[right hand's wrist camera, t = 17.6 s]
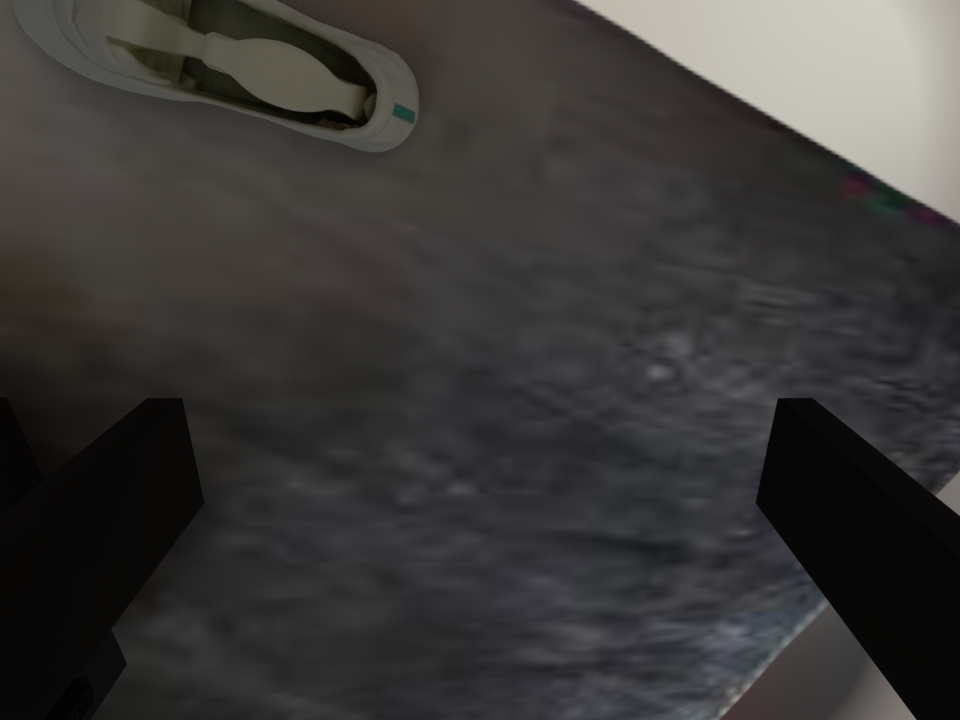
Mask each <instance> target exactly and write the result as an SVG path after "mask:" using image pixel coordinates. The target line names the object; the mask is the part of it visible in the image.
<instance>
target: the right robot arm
mask: <svg viewBox="0 0 960 720" xmlns="http://www.w3.org/2000/svg"><path fill="white" fill-rule="evenodd" d="M203 504H204V499H203V494H202V490H201V485H200V480H199V476H198V471H197V466H196V462H195V457H194V452H193V448H192V443H191V438H190V433H189V429H188V424H187V419H186V415H185V410H184V405H183V401H182V398H147V399H146V400H144V401H143V402H142V403H141V404H139V405H138V406H137V407H136V408H134V409H133V410H132V411H131V412H129V413H128V414H127V415H126V416H125V417H123V418H122V419H121V420H120V421H118V422H117V423H116V424H115V425H113V426H112V427H111V428H110V429H108V430H107V431H106V432H105V433H103V434H102V435H101V436H100V437H98V438H97V439H96V440H95V441H93V442H92V443H91V444H90V445H88V446H87V447H86V448H85V449H83V450H82V451H81V452H80V453H78V454H77V455H76V456H75V457H73V458H72V459H71V460H70V461H68V462H67V463H66V464H65V465H63V466H62V467H61V468H60V469H58V470H57V471H56V472H55V473H53V474H52V475H51V476H50V477H48V478H47V479H46V480H45V481H43V482H42V483H41V484H40V485H38V486H37V487H36V488H35V489H33V490H32V491H31V492H30V493H28V494H27V495H26V496H25V497H23V498H22V499H21V500H20V501H18V502H17V503H16V504H15V505H13V506H12V507H11V508H10V509H8V510H7V511H6V512H5V513H3V514H2V515H1V516H0V720H44V718H45V717H46V716H47V714H48V713H49V712H50V710H51V709H52V708H53V706H54V705H55V703H56V702H57V701H58V699H59V698H60V697H61V695H62V694H63V693H64V691H65V690H66V689H67V687H68V686H69V685H70V683H71V682H72V681H73V679H74V678H75V677H76V675H77V674H78V672H79V671H80V670H81V668H82V667H83V666H84V664H85V663H86V662H87V660H88V659H89V658H90V656H91V655H92V654H93V652H94V651H95V650H96V648H97V647H98V646H99V644H100V643H101V642H102V640H103V639H104V637H105V636H106V635H107V633H108V632H109V631H110V629H111V628H112V627H113V625H114V624H115V623H116V621H117V620H118V619H119V617H120V616H121V615H122V613H123V612H124V611H125V609H126V608H127V606H128V605H129V604H130V602H131V601H132V600H133V598H134V597H135V596H136V594H137V593H138V592H139V590H140V589H141V588H142V586H143V585H144V584H145V582H146V581H147V580H148V578H149V577H150V576H151V574H152V573H153V571H154V570H155V569H156V567H157V566H158V565H159V563H160V562H161V561H162V559H163V558H164V557H165V555H166V554H167V553H168V551H169V550H170V549H171V547H172V546H173V545H174V543H175V542H176V540H177V539H178V538H179V536H180V535H181V534H182V532H183V531H184V530H185V528H186V527H187V526H188V524H189V523H190V522H191V520H192V519H193V518H194V516H195V515H196V514H197V512H198V511H199V510H200V508H201V507H202V505H203ZM756 504H757V505H758V507H759V508H760V510H761V511H762V512H763V514H764V515H765V516H766V518H767V519H768V520H769V522H770V523H771V524H772V526H773V527H774V528H775V530H776V531H777V532H778V534H779V535H780V536H781V538H782V539H783V541H784V542H785V543H786V545H787V546H788V547H789V549H790V550H791V551H792V553H793V554H794V555H795V557H796V558H797V559H798V561H799V562H800V563H801V565H802V566H803V567H804V569H805V570H806V571H807V573H808V574H809V576H810V577H811V578H812V580H813V581H814V582H815V584H816V585H817V586H818V588H819V589H820V590H821V592H822V593H823V594H824V596H825V597H826V598H827V600H828V601H829V602H830V604H831V605H832V606H833V608H834V609H835V611H836V612H837V613H838V615H839V616H840V617H841V619H842V620H843V621H844V623H845V624H846V625H847V627H848V628H849V629H850V631H851V632H852V633H853V635H854V636H855V637H856V639H857V640H858V642H859V643H860V644H861V646H862V647H863V648H864V650H865V651H866V652H867V654H868V655H869V656H870V658H871V659H872V660H873V662H874V663H875V664H876V666H877V667H878V668H879V670H880V671H881V672H882V674H883V675H884V676H885V678H886V679H887V681H888V682H889V683H890V685H891V686H892V687H893V689H894V690H895V691H896V693H897V694H898V695H899V697H900V698H901V699H902V701H903V702H904V703H905V705H906V706H907V708H908V709H909V710H910V712H911V713H912V714H913V716H914V717H915V718H916V720H960V516H959V515H958V514H957V513H955V512H954V511H953V510H952V509H950V508H949V507H948V506H947V505H945V504H944V503H943V502H942V501H940V500H939V499H938V498H937V497H935V496H934V495H933V494H932V493H930V492H929V491H928V490H927V489H925V488H924V487H923V486H922V485H920V484H919V483H918V482H917V481H915V480H914V479H913V478H912V477H910V476H909V475H908V474H907V473H905V472H904V471H903V470H902V469H900V468H899V467H898V466H897V465H895V464H894V463H893V462H892V461H890V460H889V459H888V458H887V457H885V456H884V455H883V454H882V453H880V452H879V451H878V450H877V449H875V448H874V447H873V446H872V445H870V444H869V443H868V442H867V441H865V440H864V439H863V438H862V437H860V436H859V435H858V434H857V433H855V432H854V431H853V430H852V429H850V428H849V427H848V426H847V425H845V424H844V423H843V422H842V421H840V420H839V419H838V418H837V417H835V416H834V415H833V414H832V413H830V412H829V411H828V410H827V409H826V408H824V407H823V406H822V405H821V404H819V403H818V402H817V401H816V400H814V399H813V398H778V401H777V405H776V410H775V415H774V419H773V424H772V429H771V433H770V438H769V443H768V448H767V452H766V457H765V462H764V466H763V471H762V476H761V480H760V485H759V490H758V494H757V499H756Z"/></svg>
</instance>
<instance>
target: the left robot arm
mask: <svg viewBox="0 0 960 720" xmlns="http://www.w3.org/2000/svg"><path fill="white" fill-rule="evenodd" d="M93 700H94V694H93V689H92V687H91V685H90V683H89V681H88V678H87V677H76V678H75V679H74V680H73V681H72V682H71V684H70V685H69V686H68V688H67V689H66V690H65V692H64V693H63V694H62V696H61V697H60V698H59V700H58V701H57V702H56V704H55V705H54V706H53V708H52V709H51V711H50V712H49V713H48V715H47V716H46V717H45V719H44V720H81V719H82V718H83V716H84V714H85V713H86V712H87V710H88V709H89V707H90V706H91V704H92V703H93Z"/></svg>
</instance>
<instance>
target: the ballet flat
mask: <svg viewBox="0 0 960 720" xmlns="http://www.w3.org/2000/svg"><path fill="white" fill-rule="evenodd" d="M12 7H13V11H14V14H15V16H16V18H17V20H18V22H19V24H20V26H21V27H22V29H23V30H24V32H25V33H26V34H27V35H28V37H29V38H30V39H32V40H33V41H34V42H35V43H36V44H37V45H38V46H39V47H40V48H41V49H43V50H44V51H45V52H46V53H47V54H48V55H49V56H50V57H52V58H53V59H55V60H56V61H58V62H59V63H61V64H62V65H64V66H66V67H67V68H69V69H71V70H73V71H75V72H76V73H78V74H80V75H82V76H84V77H86V78H89V79H91V80H94V81H96V82H99V83H102V84H105V85H108V86H112V87H115V88H118V89H122V90H126V91H129V92H133V93H137V94H142V95H147V96H152V97H157V98H162V99H168V100H174V101H183V102H204V103H208V104H213V105H217V106H221V107H224V108H227V109H231V110H234V111H237V112H241V113H244V114H247V115H251V116H255V117H259V118H263V119H266V120H269V121H272V122H274V123H277V124H279V125H282V126H285V127H287V128H290V129H293V130H295V131H298V132H301V133H304V134H306V135H310V136H313V137H317V138H321V139H326V140H331V141H335V142H339V143H341V144H344V145H347V146H349V147H351V148H354V149H358V150H361V151H365V152H385V151H388V150H391V149H394V148H396V147H397V146H398V145H400V144H401V143H402V142H403V141H404V140H406V139H407V137H408V136H409V135H410V134H411V132H412V130H413V129H414V127H415V125H416V123H417V120H418V114H419V92H418V87H417V83H416V80H415V77H414V75H413V73H412V71H411V70H410V68H409V67H408V65H407V64H406V63H405V62H404V61H403V59H402V58H401V57H400V55H398V54H397V53H396V52H394V51H391V50H389V49H388V48H386V47H384V46H382V45H380V44H378V43H376V42H373V41H370V40H366V39H363V38H360V37H358V36H356V35H354V34H351V33H348V32H346V31H343V30H340V29H338V28H335V27H332V26H329V25H327V24H324V23H321V22H318V21H316V20H315V19H313V18H311V17H308V16H306V15H304V14H302V13H300V12H299V11H297V10H295V9H293V8H291V7H289V6H287V5H285V4H283V3H281V2H279V1H277V0H12Z"/></svg>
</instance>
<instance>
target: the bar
mask: <svg viewBox="0 0 960 720" xmlns="http://www.w3.org/2000/svg"><path fill="white" fill-rule="evenodd" d="M43 481H44V479H43V477H42V475H41V472H40V470H39V468H38V466H37V464H36V461H35V459H34V457H33V455H32V452H31V450H30V448H29V446H28V444H27V441H26V439H25V437H24V435H23V433H22V430H21V428H20V426H19V424H18V421H17V419H16V417H15V415H14V413H13V410H12V408H11V406H10V404H9V402H8V399H7V397H0V516H1V515H2V514H3V513H5V512H6V511H7V510H8V509H10V508H11V507H12V506H13V505H15V504H16V503H17V502H18V501H20V500H21V499H22V498H23V497H25V496H26V495H27V494H28V493H30V492H31V491H32V490H33V489H35V488H36V487H37V486H38V485H40V484H41V483H42V482H43ZM126 665H127V663H126V660H125V658H124V656H123V654H122V652H121V649H120V647H119V645H118V643H117V640H116V638H115V636H114V634H113V632H112V629H110V631H109V632H108V633H107V635H106V636H105V637H104V639H103V640H102V642H101V643H100V644H99V646H98V647H97V648H96V650H95V651H94V652H93V654H92V655H91V656H90V658H89V659H88V660H87V662H86V663H85V664H84V666H83V667H82V668H81V670H80V671H79V672H78V674H77V675H76V677H87V678H88V681H89V683H90V685H91V687H92V689H93V694H94V700H93V703H92V704H91V706H90V707H89V709H88V710H87V712H86V713H85V714H84V716H83V718H82V719H81V720H91V718H92V717H93V715H94V714H95V712H96V711H97V709H98V708H99V706H100V705H101V703H102V702H103V700H104V699H105V697H106V696H107V694H108V693H109V691H110V690H111V688H112V687H113V685H114V684H115V682H116V680H117V679H118V677H119V676H120V674H121V673H122V671H123V670H124V668H125V667H126ZM76 677H75V678H76ZM75 678H74V679H75ZM74 679H73V680H74ZM70 684H71V683H70ZM67 688H68V687H67ZM64 692H65V691H64ZM61 696H62V695H61ZM58 700H59V699H58ZM55 704H56V703H55ZM50 711H51V710H50ZM47 715H48V714H47ZM44 719H45V718H44Z"/></svg>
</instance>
